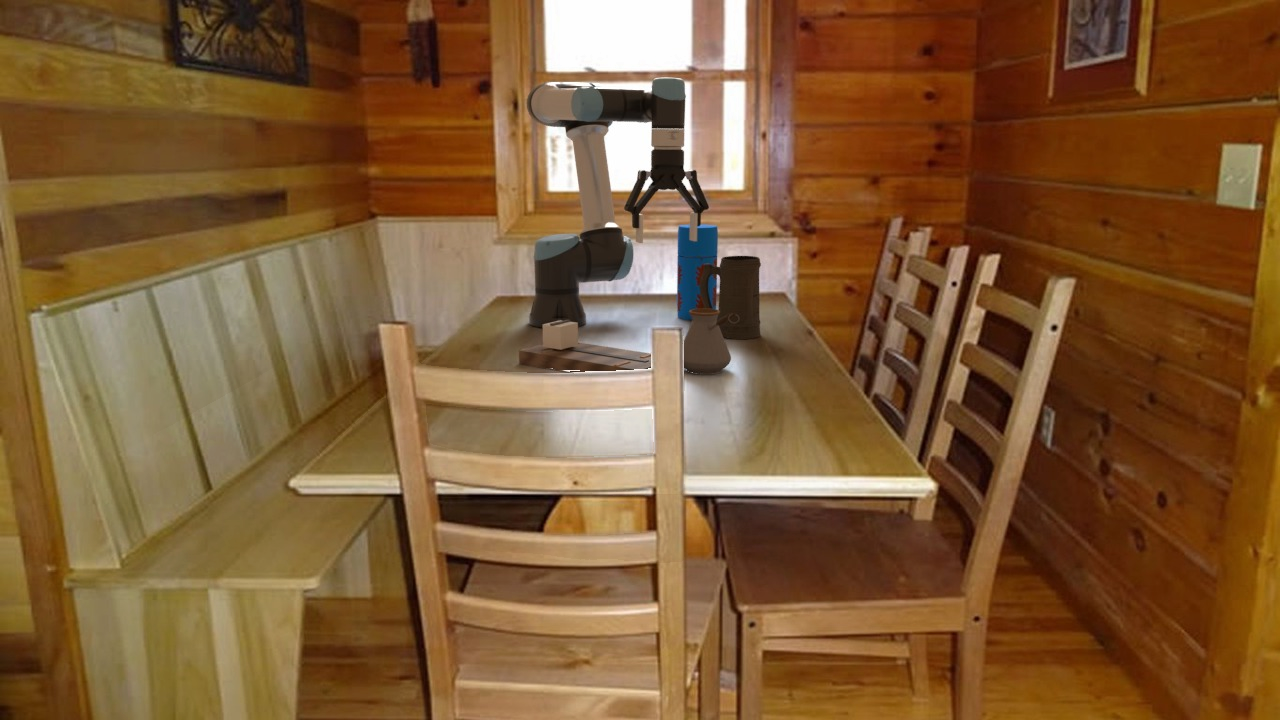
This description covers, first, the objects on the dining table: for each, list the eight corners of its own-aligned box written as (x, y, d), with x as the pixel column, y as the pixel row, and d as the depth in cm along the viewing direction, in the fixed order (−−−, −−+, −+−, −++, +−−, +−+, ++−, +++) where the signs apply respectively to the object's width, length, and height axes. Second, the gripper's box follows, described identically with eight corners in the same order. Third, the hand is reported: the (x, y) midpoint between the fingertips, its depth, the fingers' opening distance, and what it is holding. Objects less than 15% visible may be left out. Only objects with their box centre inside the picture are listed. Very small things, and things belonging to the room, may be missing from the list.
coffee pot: (669, 366, 203) (669, 297, 199) (718, 362, 206) (719, 295, 203) (705, 390, 183) (707, 315, 180) (759, 386, 186) (762, 311, 183)
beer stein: (762, 331, 240) (759, 253, 236) (764, 339, 230) (760, 258, 225) (702, 334, 242) (698, 256, 238) (701, 342, 231) (697, 261, 227)
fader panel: (519, 363, 205) (518, 349, 204) (560, 352, 216) (559, 338, 215) (639, 384, 187) (639, 369, 186) (677, 371, 198) (677, 356, 197)
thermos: (721, 315, 263) (723, 225, 257) (707, 321, 254) (709, 228, 248) (685, 312, 267) (686, 224, 262) (670, 318, 258) (671, 226, 252)
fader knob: (543, 346, 205) (542, 322, 204) (560, 342, 210) (560, 318, 209) (560, 349, 202) (560, 325, 201) (578, 344, 207) (577, 320, 206)
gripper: (621, 148, 207) (621, 245, 212) (724, 148, 215) (721, 241, 220) (610, 148, 213) (610, 241, 218) (710, 148, 222) (708, 238, 227)
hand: (666, 241), depth 219 cm, fingers open, 13 cm apart
